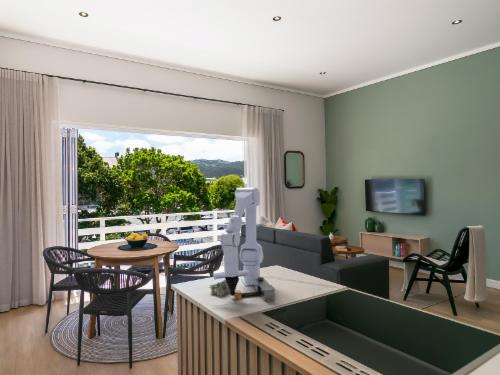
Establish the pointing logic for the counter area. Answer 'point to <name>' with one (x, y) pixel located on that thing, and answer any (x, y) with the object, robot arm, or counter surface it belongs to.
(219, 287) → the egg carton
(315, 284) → the counter surface
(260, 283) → the motor housing
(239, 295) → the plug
